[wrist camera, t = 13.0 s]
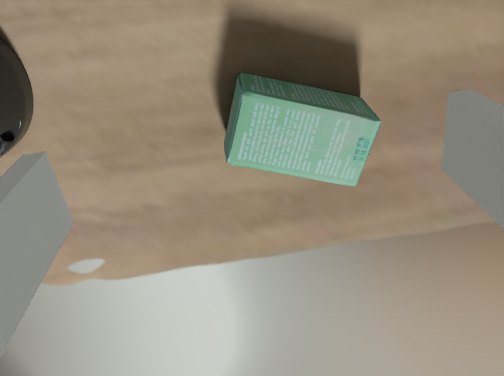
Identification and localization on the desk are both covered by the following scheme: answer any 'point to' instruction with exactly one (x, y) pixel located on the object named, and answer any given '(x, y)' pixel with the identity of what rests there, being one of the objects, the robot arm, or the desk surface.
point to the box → (299, 130)
